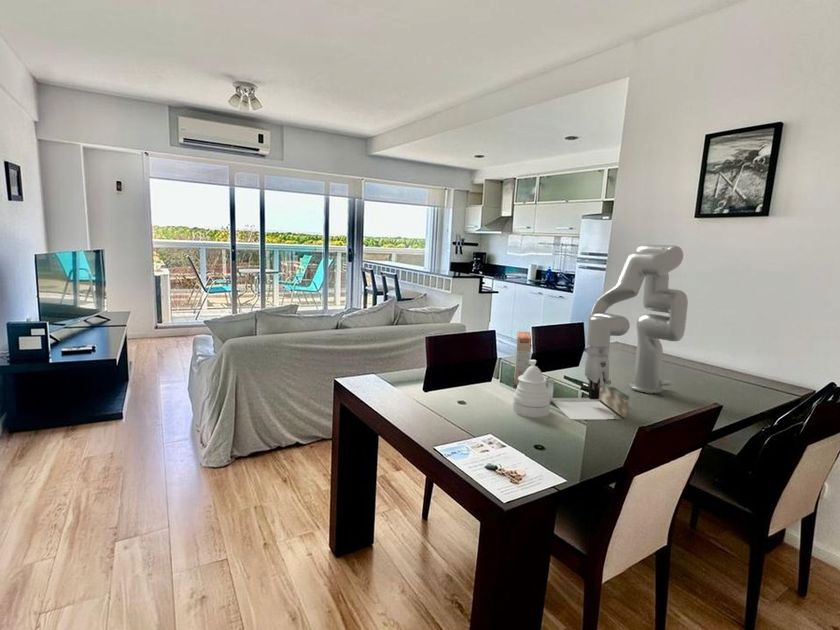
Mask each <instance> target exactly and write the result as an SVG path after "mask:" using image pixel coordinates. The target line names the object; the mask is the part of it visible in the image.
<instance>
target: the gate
mask: <svg viewBox="0 0 840 630" xmlns="http://www.w3.org/2000/svg"><path fill="white" fill-rule="evenodd" d="M599 399H600V400H601V401H602V402H601V403H603V404H604V405H605V406H606V405H607V407H609V409H612V410H613V412H615V413H617V415H619V416H622V417H623V418H627V417H628V409H629V401H630V396H629V395H627V394H626V393H624V392H623V391H621V390H620V389H618V388H616V387H615V386H613V385H612V384H611V385H610V384H609V383H605V382H603V387H601V388H600V390H599Z"/></svg>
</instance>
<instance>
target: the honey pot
mask: <svg viewBox="0 0 840 630" xmlns="http://www.w3.org/2000/svg"><path fill="white" fill-rule="evenodd" d="M529 363H530V365H529V368H528V369H527V370H526V371H525V372H524V374H523V375H521V376H519V377H518V380H519V381H520V382H519V384H518V385H516V388H515V392H514V393H513V400H512V401H513V402H512V411H513V412H514V413H516V414H518V415H520V416H523V417H529V418H543V417H547V416H549V415H550V408H551V402H550V396H549V393H548V388H547V387H546V385H547V378H545V376H544V375H543V373H542V371H541V369H540V368H539V367H538V366H536V364H537V360H536V359H530V360H529Z"/></svg>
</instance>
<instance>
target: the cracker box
mask: <svg viewBox="0 0 840 630" xmlns="http://www.w3.org/2000/svg"><path fill="white" fill-rule="evenodd" d="M515 346H516V348H515V361H514V362H515V363H514V386H518V384H519V382H520V381H519V380H518V377H519V376H521V375H523V374H524V372H525V371H526V370H527V369H528V368H529V367H530V366H531V365H530V363H529V360H531V352H532V351H531V348H532V335H531V331H530V332H529V331H517V333H516V345H515Z"/></svg>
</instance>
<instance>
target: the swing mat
mask: <svg viewBox="0 0 840 630" xmlns="http://www.w3.org/2000/svg"><path fill="white" fill-rule="evenodd" d="M552 403H553V404H554V405H555V406H556V407H557V408H558V409H559V411H561V412H562V413H563V414H564V415H565V416H566V418H568V419H569V421H608V420H607V419H614V415H615V416H616V415H617V414H616V412H614V411H612V410H611V408H608V406H606V405H605V404H604V403H603V402H552Z"/></svg>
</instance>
